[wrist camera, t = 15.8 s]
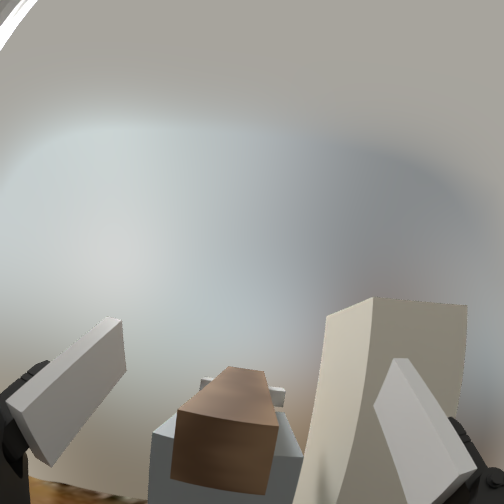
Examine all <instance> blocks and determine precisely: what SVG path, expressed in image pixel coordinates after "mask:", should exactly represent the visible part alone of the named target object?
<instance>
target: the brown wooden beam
mask: <svg viewBox="0 0 504 504" xmlns="http://www.w3.org/2000/svg"><path fill="white" fill-rule="evenodd" d="M285 392H286V391H285V390H284V388H278V387H269V386H268V385H267V381H266V377H265V374H264V371H257V370H250V369H243V368H236V367H230V366H228V367H227V368H226V369H225V370H224V371H223V372H222V373H220V374H219V375H218V376H217V377H216V378H210V377H203V378H202V379H201V384H200V390H199V392H198V393H197V394H196V395H194V396H193V397H192V398H191V399H190V400H188V401H187V402H186V403H185V404H183V405H182V406H181V407H180V408H179V409H178V410H177V418H176V426H175V434H174V443H173V452H172V462H171V472H170V479H173V480H177V481H181V482H185V483H189V484H193V485H198V486H203V487H208V488H213V489H218V490H224V491H231V492H238V493H245V494H254V495H265V493H266V489H267V484H268V480H269V475H270V470H271V466H272V461H273V456H274V451H275V446H276V441H277V435H278V430H279V424H278V420H277V417H276V413H275V410H274V406H277V407H283V404H284V399H285Z"/></svg>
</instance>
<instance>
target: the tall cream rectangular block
mask: <svg viewBox="0 0 504 504" xmlns="http://www.w3.org/2000/svg"><path fill="white" fill-rule="evenodd" d="M466 335H467V305H454V304H443V303H431V302H419V301H410V300H400V299H390V298H380V297H372V298H369V299H367V300H365V301H362V302H360V303H358V304H355V305H353V306H350V307H348V308H346V309H343V310H341V311H338V312H336V313H333V314H331V315H328V316H327V317H326V327H325V335H324V343H323V351H322V359H321V365H320V372H319V379H318V385H317V391H316V397H315V403H314V409H313V414H312V420H311V425H310V430H309V435H308V440H307V445H306V450H305V454H304V459H303V464H302V468H301V472H300V476H299V480H298V484H297V488H296V492H295V496H294V500H293V503H292V504H408V503H407V500H406V497H405V494H404V491H403V488H402V485H401V481H400V478H399V475H398V472H397V470H396V467H395V464H394V461H393V458H392V455H391V452H390V449H389V447H388V444H387V441H386V438H385V436H384V433H383V430H382V427H381V425H380V422H379V420H378V417H377V414H376V412H375V409H374V406H373V405H374V403H375V401H376V399H377V397H378V394H379V392H380V390H381V388H382V385H383V383H384V380H385V378H386V376H387V373H388V371H389V368H390V366H391V363H392V360H393V358H408V359H409V361H410V362H411V363H412V365H413V366H414V368H415V369H416V371H417V372H418V374H419V375H420V376H421V378H422V379H423V381H424V382H425V384H426V385H427V387H428V388H429V390H430V391H431V393H432V394H433V396H434V397H435V399H436V400H437V402H438V404H439V405H440V407H441V408H442V410H443V411H444V413H445V414H446V416H447V417H453V418H454V419H455V418H456V413H457V408H458V403H459V397H460V391H461V385H462V377H463V369H464V360H465V350H466Z"/></svg>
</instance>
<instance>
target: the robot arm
mask: <svg viewBox="0 0 504 504" xmlns="http://www.w3.org/2000/svg"><path fill="white" fill-rule="evenodd" d="M36 1H37V0H0V50H1V48H2V47H3V45H4V44H5V42H6V41H7V39H8V38H9V37H10V35H11V34H12V32H13V30H14V29H15V28H16V27H17V25H18V24H19V22H20V21H21V20H22V19H23V17H24V16H25V15H26V13H27V12H28V11H29V9H30V8H31V7H32V6H33V5H34V4H35V2H36ZM125 372H126V362H125V353H124V342H123V330H122V320H120V319H116V318H112V317H108V316H107V317H106V318H104V319H103V320H102V321H101V322H99V323H98V324H97V325H96V326H94V327H93V328H92V329H91V330H89V331H88V332H87V333H86V334H84V335H83V336H82V337H81V338H79V339H78V340H77V341H76V342H74V343H73V344H72V345H71V346H70V347H68V348H67V349H66V350H65V351H64V352H62V353H61V354H60V355H59V356H57V357H56V358H55V359H54V360H52V361H51V362H50V361H48V360H46V361H43V362H41V363H38V364H36V365H34V366H33V367H32V368H31V369H30V370H28V371H27V373H25V374H23V375H22V376H21V378H20V379H17V380H16V381H15V382H14V383H12V384H11V385H10V386H9V387H8V388H7V389H5V390H4V391H3V392H2V393H1V394H0V504H30V493H29V479H28V458H27V454H26V451H27V449H28V448H30V449H31V451H32V453H33V454H34V456H35V457H36V458H37V459H39V460H40V461H42V462H44V463H45V464H47V465H48V466H50V467H52V466H53V465H54V464H55V462H56V461H57V460H58V458H59V457H60V456H61V454H62V453H63V452H64V450H65V449H66V447H67V446H68V445H69V444H70V442H71V441H72V440H73V438H74V437H75V436H76V434H77V433H78V432H79V431H80V429H81V428H82V427H83V425H84V424H85V423H86V422H87V420H88V419H89V418H90V417H91V415H92V414H93V413H94V411H95V410H96V409H97V408H98V406H99V405H100V404H101V402H102V401H103V400H104V399H105V397H106V396H107V395H108V394H109V392H110V391H111V390H112V389H113V387H114V386H115V385H116V383H117V382H118V381H119V380H120V378H121V377H122V376H123V375H124V373H125ZM373 406H374V409H375V412H376V414H377V417H378V420H379V422H380V425H381V427H382V430H383V433H384V436H385V438H386V441H387V444H388V447H389V449H390V452H391V455H392V458H393V461H394V464H395V467H396V470H397V472H398V475H399V478H400V481H401V485H402V488H403V491H404V494H405V497H406V500H407V503H408V504H504V472H503V471H502V470H501V469H498V468H494V467H491V468H488V467H487V466H486V464H485V463H484V461H483V459H482V457H481V456H480V454H479V452H478V451H477V449H476V447H475V446H474V444H473V443H472V442H471V439H470V438H469V436H468V435H466V431H465V430H464V428H463V427H462V425H461V424H460V423H459V422H457V420H455V419H454V418H453V417H447V416H446V414H445V413H444V411H443V410H442V408H441V407H440V405H439V404H438V402H437V400H436V399H435V397H434V396H433V394H432V393H431V391H430V390H429V388H428V387H427V385H426V384H425V382H424V381H423V379H422V378H421V376H420V375H419V374H418V372H417V371H416V369H415V368H414V366H413V365H412V363H411V362H410V361H409V359H408V358H393V360H392V363H391V366H390V368H389V371H388V373H387V376H386V378H385V380H384V383H383V385H382V388H381V390H380V392H379V394H378V397H377V399H376V401H375V403H374V405H373Z"/></svg>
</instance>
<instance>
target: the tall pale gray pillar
mask: <svg viewBox="0 0 504 504" xmlns="http://www.w3.org/2000/svg"><path fill="white" fill-rule="evenodd" d="M275 413H276V417H277V420H278V424H279V430H278V435H277V441H276V446H275V451H274V456H273V461H272V466H271V470H270V475H269V480H268V484H267V489H266V493H265V495H254V494H245V493H238V492H231V491H224V490H218V489H213V488H208V487H203V486H198V485H193V484H189V483H185V482H181V481H177V480H173V479H170V472H171V462H172V452H173V443H174V434H175V426H176V418H177V413H175V414H174V415H173V416H172V417H171V418H169V419H168V420H167V421H166V422H165V423H163V424H162V425H161V426H160V427H159V428H157V429H156V430H155V431H154V432H152V442H151V454H150V468H149V485H148V504H292V503H293V500H294V496H295V492H296V488H297V484H298V480H299V476H300V472H301V468H302V464H303V459H304V456H303V454H302V452H301V450H300V447H299V445H298V443H297V441H296V438H295V436H294V434H293V432H292V429H291V427H290V425H289V422H288V420H287V418H286V415H285V413H284V412H275Z"/></svg>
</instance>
